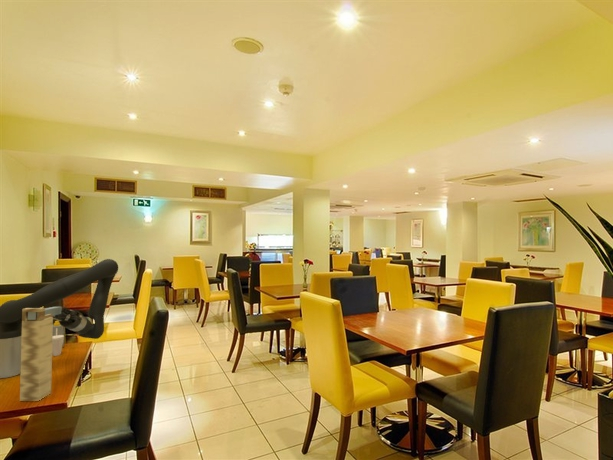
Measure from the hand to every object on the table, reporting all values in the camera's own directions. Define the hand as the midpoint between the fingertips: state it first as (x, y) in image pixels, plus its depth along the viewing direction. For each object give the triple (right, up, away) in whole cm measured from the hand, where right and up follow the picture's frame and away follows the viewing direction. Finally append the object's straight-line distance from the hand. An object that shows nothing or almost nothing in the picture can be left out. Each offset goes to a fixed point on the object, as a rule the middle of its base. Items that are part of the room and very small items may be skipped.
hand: (52, 309), depth 140 cm
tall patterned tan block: (0, -32, -9) cm, 33 cm away
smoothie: (-28, -34, +40) cm, 59 cm away
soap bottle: (-35, -34, +50) cm, 70 cm away
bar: (0, -2, -4) cm, 4 cm away
